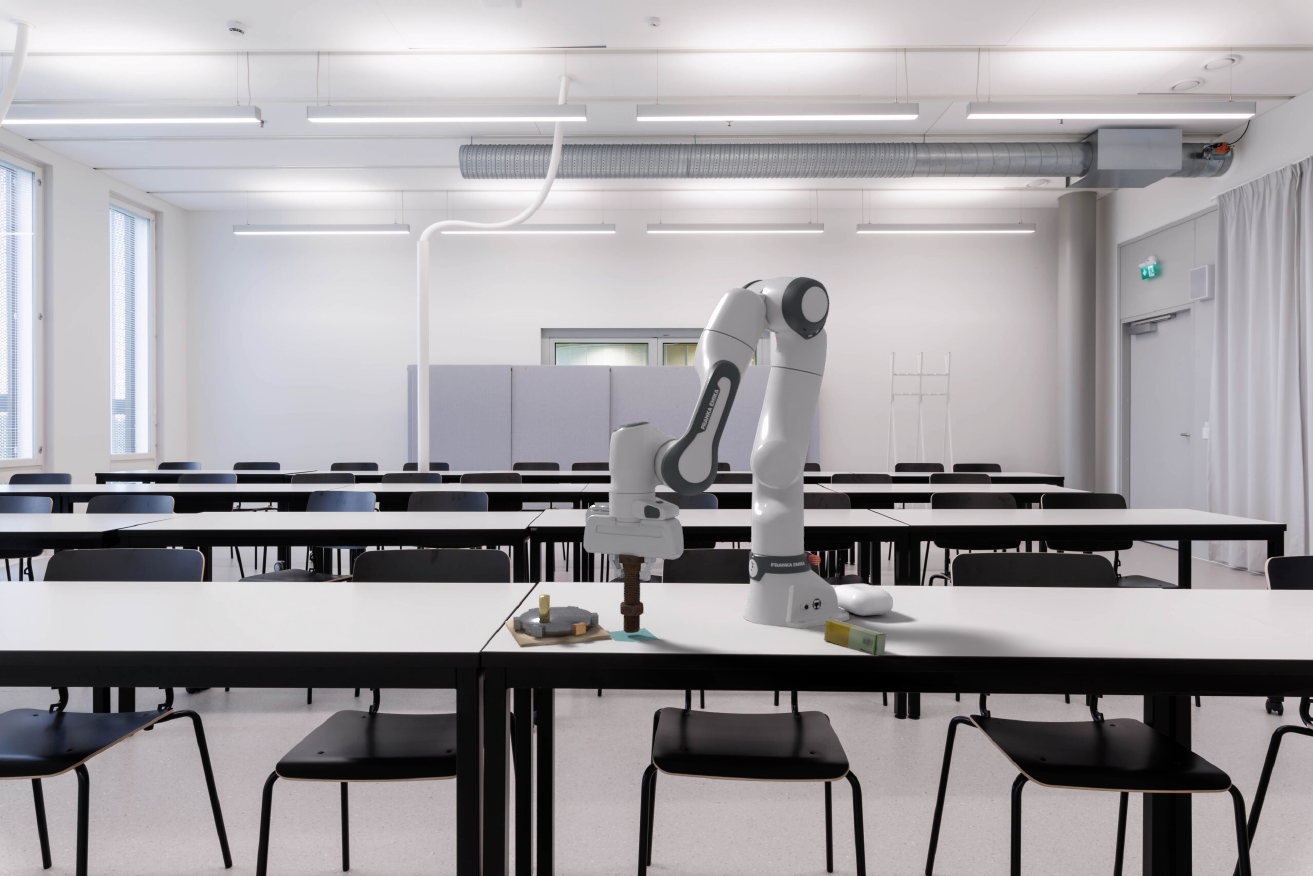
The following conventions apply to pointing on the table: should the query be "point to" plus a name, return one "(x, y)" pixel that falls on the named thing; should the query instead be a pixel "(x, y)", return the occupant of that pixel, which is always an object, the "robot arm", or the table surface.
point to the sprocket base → (527, 640)
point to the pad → (633, 636)
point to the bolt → (631, 592)
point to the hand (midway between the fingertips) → (632, 578)
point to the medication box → (855, 637)
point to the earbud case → (863, 599)
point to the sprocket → (554, 620)
